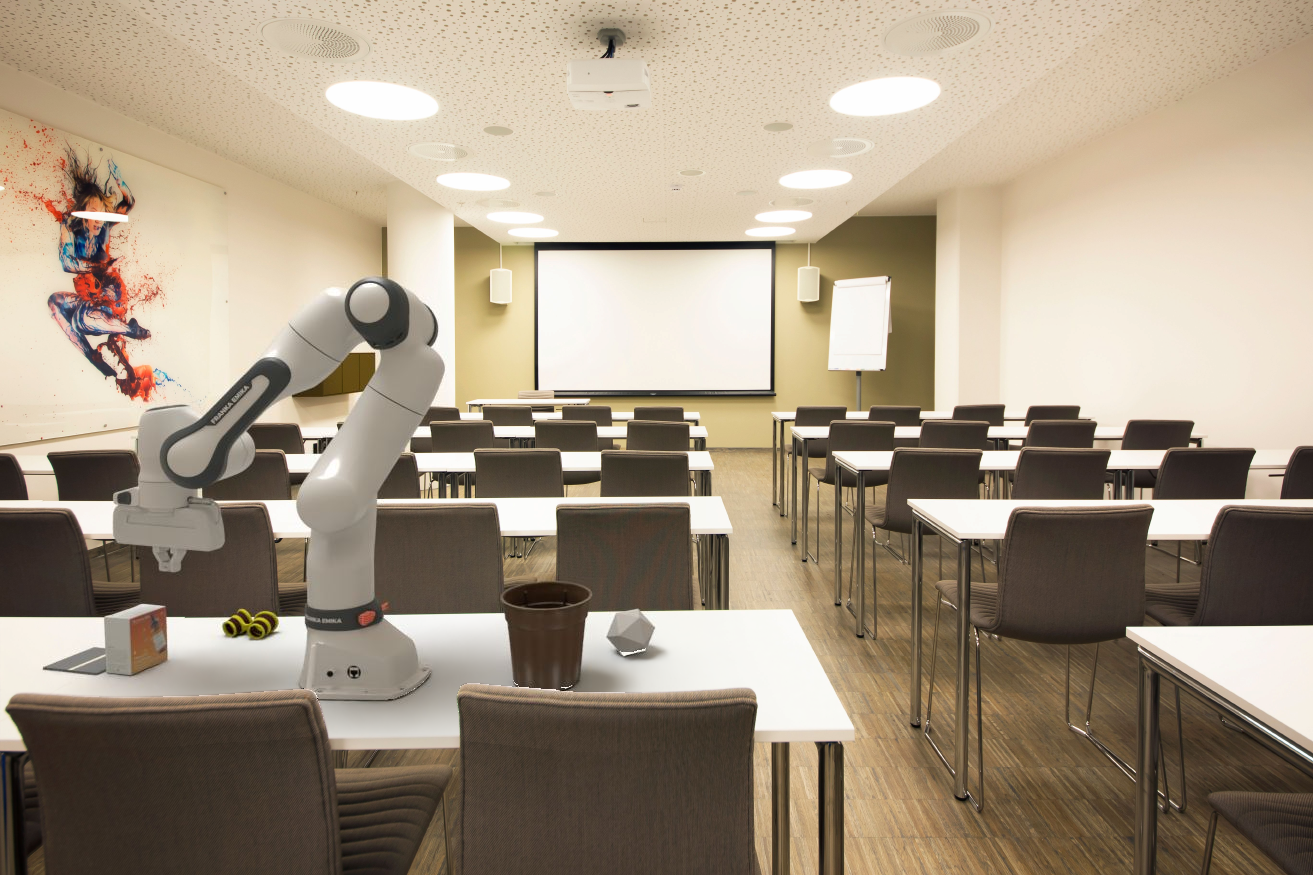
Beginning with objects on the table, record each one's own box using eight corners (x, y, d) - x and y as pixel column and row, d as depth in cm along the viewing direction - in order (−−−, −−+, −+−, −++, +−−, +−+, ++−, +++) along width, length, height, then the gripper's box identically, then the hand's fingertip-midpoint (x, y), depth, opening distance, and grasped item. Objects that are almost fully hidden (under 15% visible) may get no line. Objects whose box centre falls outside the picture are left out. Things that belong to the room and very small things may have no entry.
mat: (145, 654, 141) (144, 651, 141) (96, 675, 131) (96, 672, 131) (94, 648, 143) (94, 646, 143) (43, 669, 133) (42, 666, 133)
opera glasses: (222, 640, 151) (217, 618, 150) (240, 626, 156) (236, 605, 155) (263, 644, 149) (259, 622, 148) (281, 630, 154) (277, 609, 153)
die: (652, 664, 143) (666, 615, 148) (615, 647, 140) (630, 597, 144) (630, 665, 150) (644, 618, 155) (594, 648, 147) (610, 601, 151)
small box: (131, 676, 131) (128, 619, 130) (105, 673, 132) (102, 616, 131) (169, 659, 139) (167, 605, 138) (144, 656, 140) (142, 602, 139)
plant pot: (524, 708, 122) (525, 614, 120) (485, 674, 135) (485, 589, 133) (607, 685, 131) (609, 597, 130) (563, 656, 144) (564, 576, 143)
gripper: (233, 496, 132) (233, 571, 133) (135, 488, 136) (137, 561, 137) (205, 502, 126) (206, 580, 127) (104, 494, 130) (106, 570, 131)
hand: (170, 570), depth 132 cm, fingers closed
